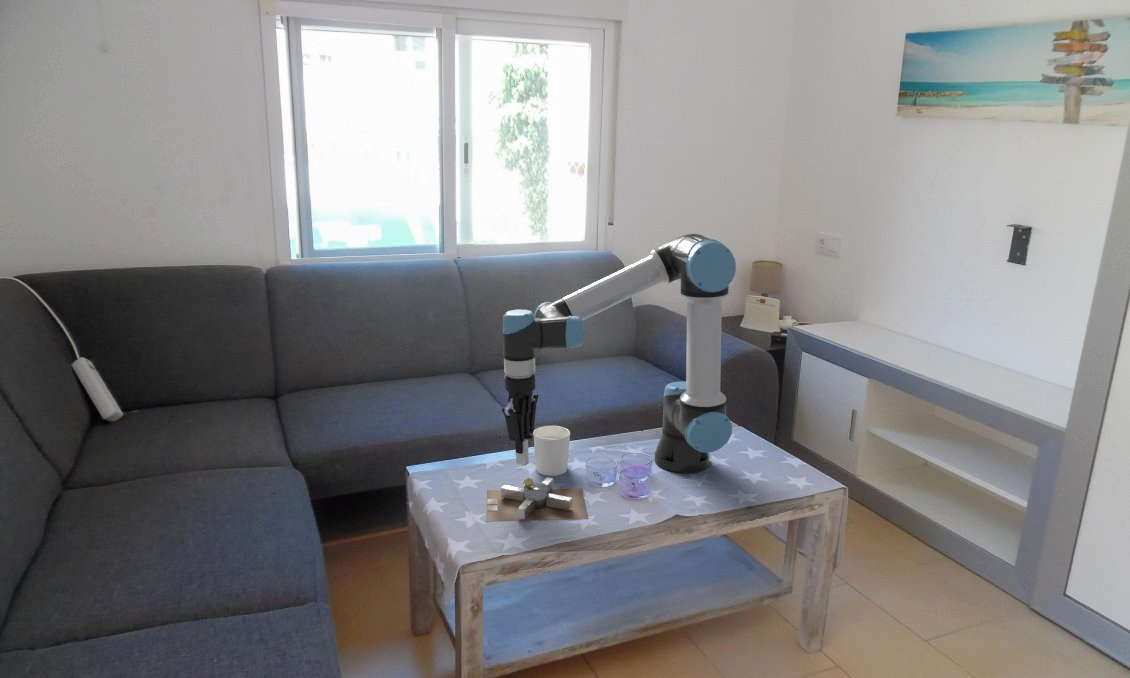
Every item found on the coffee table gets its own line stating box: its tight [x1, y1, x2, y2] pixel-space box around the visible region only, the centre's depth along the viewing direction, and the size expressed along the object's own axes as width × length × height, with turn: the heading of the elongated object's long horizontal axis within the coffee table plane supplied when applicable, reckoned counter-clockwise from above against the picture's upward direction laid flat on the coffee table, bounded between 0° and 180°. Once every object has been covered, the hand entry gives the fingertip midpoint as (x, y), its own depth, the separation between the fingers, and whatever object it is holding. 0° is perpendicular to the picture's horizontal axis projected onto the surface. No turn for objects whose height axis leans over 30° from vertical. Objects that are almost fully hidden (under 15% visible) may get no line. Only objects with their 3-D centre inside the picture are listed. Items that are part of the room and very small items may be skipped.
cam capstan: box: [500, 476, 572, 520], centre depth 188 cm, size 18×18×6 cm
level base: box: [485, 487, 590, 523], centre depth 189 cm, size 24×16×2 cm, turn 95°
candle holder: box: [532, 425, 571, 477], centre depth 208 cm, size 10×10×12 cm
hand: (522, 463), depth 194 cm, fingers closed
